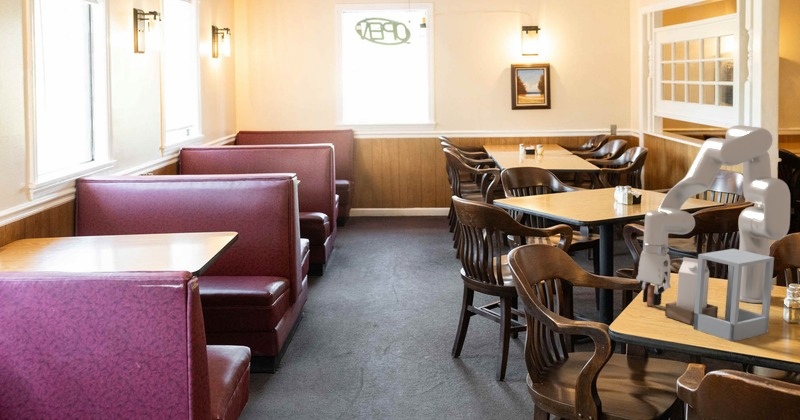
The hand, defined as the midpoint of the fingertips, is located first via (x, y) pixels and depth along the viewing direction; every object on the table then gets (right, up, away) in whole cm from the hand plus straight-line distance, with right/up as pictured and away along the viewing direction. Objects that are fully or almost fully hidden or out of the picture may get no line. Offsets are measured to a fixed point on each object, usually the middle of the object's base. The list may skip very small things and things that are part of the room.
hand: (651, 302), depth 279 cm
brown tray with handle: (+5, -2, -8) cm, 10 cm away
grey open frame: (+16, -6, -25) cm, 30 cm away
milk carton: (+8, -4, -13) cm, 16 cm away
